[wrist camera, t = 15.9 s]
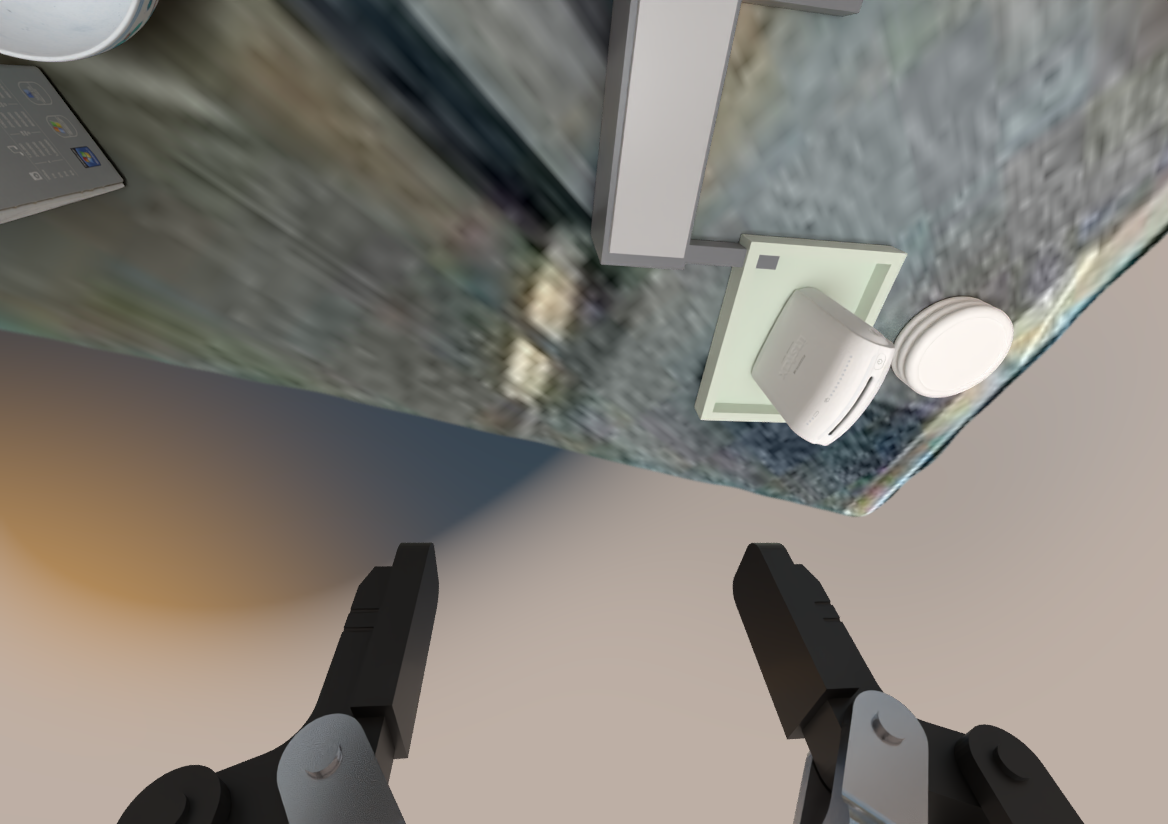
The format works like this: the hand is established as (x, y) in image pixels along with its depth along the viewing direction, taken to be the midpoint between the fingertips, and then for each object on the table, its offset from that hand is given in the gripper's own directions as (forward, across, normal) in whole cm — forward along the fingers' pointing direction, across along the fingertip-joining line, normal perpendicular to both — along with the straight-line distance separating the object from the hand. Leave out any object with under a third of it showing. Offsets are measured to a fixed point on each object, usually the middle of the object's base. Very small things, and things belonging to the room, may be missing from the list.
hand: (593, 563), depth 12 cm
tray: (+33, -23, +8) cm, 41 cm away
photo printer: (+33, -23, +8) cm, 41 cm away
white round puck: (+34, -40, +8) cm, 53 cm away
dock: (+33, -11, -8) cm, 36 cm away
